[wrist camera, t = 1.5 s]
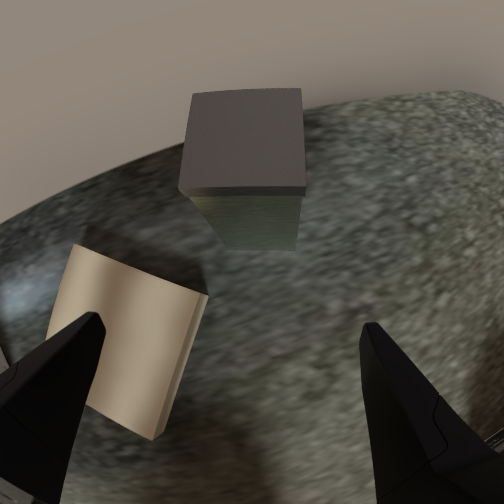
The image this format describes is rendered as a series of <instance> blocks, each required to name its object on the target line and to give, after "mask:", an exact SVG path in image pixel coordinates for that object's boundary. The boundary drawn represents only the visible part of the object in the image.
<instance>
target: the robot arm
mask: <svg viewBox="0 0 504 504" xmlns="http://www.w3.org/2000/svg"><path fill="white" fill-rule="evenodd" d="M105 336H106V328H105V325H104V323H103V321H102V319H101V317H100V315H99V313H97V312H92V311H88V312H86V313H84V314H83V315H81V316H80V317H79V318H77V319H76V320H74V321H73V322H71V323H70V324H69V325H67V326H66V327H64V328H63V329H61V330H60V331H59V332H57V333H56V334H54V335H53V336H52V337H50V338H49V339H47V340H46V341H45V342H43V343H42V344H40V345H39V346H38V347H36V348H35V349H34V350H32V351H31V352H29V353H28V354H27V355H25V356H24V357H23V358H21V359H20V360H19V361H17V362H16V363H14V364H13V365H12V366H10V367H9V368H8V369H6V370H5V371H4V372H2V373H1V374H0V504H32V503H33V500H34V497H35V498H37V499H39V500H41V501H43V502H45V503H47V504H59V503H60V498H61V493H62V489H63V484H64V480H65V476H66V471H67V467H68V462H69V459H70V455H71V451H72V448H73V444H74V440H75V437H76V433H77V430H78V427H79V423H80V420H81V417H82V413H83V410H84V407H85V404H86V401H87V398H88V395H89V392H90V389H91V386H92V383H93V380H94V377H95V374H96V371H97V367H98V364H99V360H100V356H101V352H102V348H103V344H104V340H105ZM359 350H360V365H361V382H362V392H363V399H364V405H365V411H366V417H367V424H368V431H369V438H370V445H371V453H372V461H373V469H374V479H375V488H376V499H377V504H504V455H503V454H501V453H499V452H497V451H495V450H494V449H492V448H491V447H490V446H489V445H488V444H487V443H486V442H485V441H484V440H483V439H482V438H481V437H480V436H479V435H478V434H476V433H475V432H474V431H473V430H472V429H471V428H470V427H469V426H468V425H467V424H466V423H465V422H464V421H463V420H462V419H461V418H460V417H459V416H458V415H457V413H456V412H455V411H454V410H453V409H452V408H451V407H450V406H449V404H448V403H447V402H446V401H445V400H444V398H443V397H442V396H441V395H439V393H438V391H437V390H436V389H435V388H434V387H433V385H432V384H431V383H430V382H429V381H428V380H427V378H426V377H425V376H424V375H423V374H422V373H421V371H420V370H419V369H418V368H417V367H416V366H415V364H414V363H413V362H412V361H411V360H410V359H409V358H408V356H407V355H406V354H405V353H404V352H403V351H402V350H401V348H400V347H399V346H398V345H397V344H396V343H395V342H394V341H393V339H392V338H391V337H390V336H389V335H388V334H387V333H386V332H385V330H384V329H383V328H382V327H381V326H380V325H379V324H378V323H376V322H371V323H365V324H364V326H363V330H362V333H361V337H360V342H359Z"/></svg>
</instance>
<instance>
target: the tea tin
mask: <svg viewBox="0 0 504 504" xmlns="http://www.w3.org/2000/svg"><path fill="white" fill-rule="evenodd" d="M178 189H179V190H180V192H181V193H182V194H183V195H184V197H189V198H190V199H191V201H192V202H193V203H194V204H195V206H196V207H197V208H198V210H199V211H200V212H201V214H202V215H203V216H204V217H205V219H206V220H207V221H208V223H209V224H210V225H211V226H212V228H213V229H214V230H215V232H216V233H217V234H218V235H219V237H220V238H221V239H222V241H223V242H224V243H225V244H226V246H227V247H228V248H229V250H276V251H295V249H296V242H297V234H298V226H299V218H300V210H301V202H302V196H305V192H306V167H305V144H304V126H303V109H302V95H301V89H300V88H277V89H276V88H272V89H245V90H228V91H215V92H204V93H195V94H193V96H192V101H191V106H190V112H189V118H188V124H187V130H186V136H185V142H184V149H183V155H182V162H181V169H180V177H179V184H178Z"/></svg>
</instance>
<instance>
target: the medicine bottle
mask: <svg viewBox="0 0 504 504" xmlns="http://www.w3.org/2000/svg"><path fill="white" fill-rule="evenodd" d="M485 442H486V443H487V444H488V445H489V446H490V447H491V448H492V449H494V450H495V451H497V452H499V453H501V454H503V455H504V427H503V428H502V429H501V430H499V431H498V432H496V433H495V434H494V435H492V436H491V437H489V438H488V439H486V440H485Z"/></svg>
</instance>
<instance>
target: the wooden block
mask: <svg viewBox="0 0 504 504" xmlns="http://www.w3.org/2000/svg"><path fill="white" fill-rule="evenodd" d="M208 297H209V296H207V295H204V294H202V293H199V292H196V291H193V290H191V289H188V288H185V287H183V286H180V285H177V284H175V283H172V282H169V281H167V280H164V279H161V278H159V277H156V276H154V275H151V274H148V273H146V272H143V271H141V270H138V269H136V268H133V267H131V266H128V265H126V264H123V263H121V262H118V261H116V260H113V259H111V258H109V257H106V256H104V255H101V254H99V253H97V252H94V251H92V250H89V249H87V248H84V247H82V246H80V245H77V244H75V243H74V246H73V249H72V251H71V254H70V257H69V260H68V263H67V266H66V269H65V272H64V275H63V278H62V281H61V285H60V288H59V291H58V295H57V298H56V302H55V305H54V309H53V313H52V316H51V320H50V324H49V328H48V332H47V337H46V340H47V339H49V338H50V337H52V336H53V335H54V334H56V333H57V332H59V331H60V330H61V329H63V328H64V327H66V326H67V325H69V324H70V323H71V322H73V321H74V320H76V319H77V318H79V317H80V316H81V315H83V314H84V313H86V312H88V311H92V312H97V313H99V315H100V317H101V319H102V321H103V323H104V325H105V328H106V336H105V340H104V344H103V348H102V352H101V356H100V360H99V364H98V367H97V371H96V374H95V377H94V380H93V383H92V386H91V389H90V392H89V395H88V398H87V401H86V404H87V405H89V406H90V407H92V408H93V409H95V410H97V411H98V412H100V413H102V414H103V415H105V416H107V417H108V418H110V419H112V420H114V421H115V422H117V423H119V424H121V425H122V426H124V427H126V428H128V429H130V430H132V431H134V432H135V433H137V434H139V435H141V436H143V437H145V438H147V439H149V440H151V441H153V440H154V439H155V438H156V437H158V436H159V435H160V434H161V433H162V432H164V430H165V427H166V423H167V420H168V417H169V414H170V411H171V408H172V405H173V402H174V398H175V395H176V392H177V389H178V386H179V383H180V380H181V377H182V374H183V371H184V368H185V365H186V362H187V359H188V356H189V353H190V350H191V347H192V344H193V341H194V338H195V335H196V332H197V329H198V326H199V323H200V320H201V317H202V315H203V312H204V309H205V306H206V303H207V300H208Z"/></svg>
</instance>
